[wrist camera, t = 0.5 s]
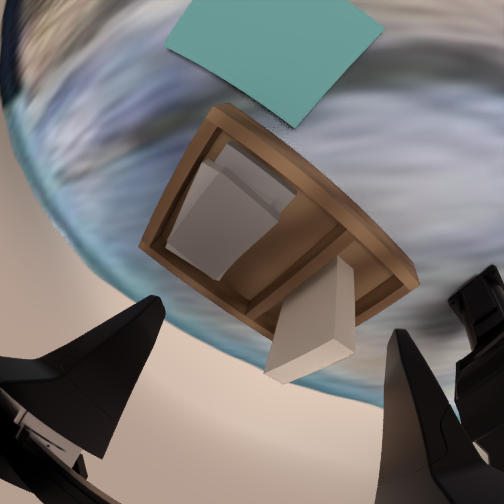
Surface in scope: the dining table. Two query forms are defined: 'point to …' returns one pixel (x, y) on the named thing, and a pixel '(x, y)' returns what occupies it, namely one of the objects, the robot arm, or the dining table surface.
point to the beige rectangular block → (314, 324)
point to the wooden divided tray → (281, 232)
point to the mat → (275, 47)
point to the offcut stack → (227, 210)
